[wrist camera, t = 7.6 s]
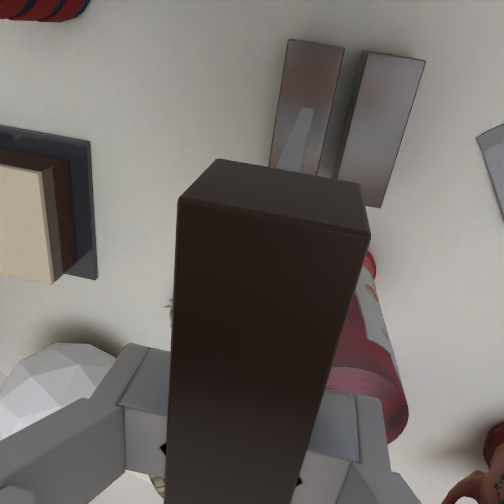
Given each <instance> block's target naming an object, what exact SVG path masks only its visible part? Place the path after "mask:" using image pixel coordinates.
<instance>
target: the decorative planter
mask: <svg viewBox="0 0 504 504" xmlns="http://www.w3.org/2000/svg"><path fill="white" fill-rule="evenodd" d="M483 455H484V459H485V461H486V463H487V465H488V467H489V470H490V471H489V472H487V473H484V472H481V471H479V470H477V471H474V472H473V473H472V474H470V475H469V476H467V477H466V478H464V479H463V480H461V481H460V482H458V483H457V484H456V485H455V486H454V487H453V488H452V489H451V490H450V491H449V493H448V495H447V496H446V498H445V499H444V500H443V502H442V504H455V503H456V502H457V500H458V499H459V498H461V497H463V496H466V497H471V498H473V499H475V500H476V501H477V503H478V504H504V423H501V424H499V425H497V426H495V427H494V428H493V429H492V430H491V431H490V432H489V433H488V435H487V438H486V442H485V445H484V449H483Z"/></svg>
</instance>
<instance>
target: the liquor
mask: <svg viewBox="0 0 504 504" xmlns="http://www.w3.org/2000/svg"><path fill="white" fill-rule="evenodd" d="M375 276H376V265H375V262H374V259H373V257H372V256H371V254H370V253H369V252H368V251H367V253H366V257H365V260H364V263H363V266H362V270H361V273H360V276H359V280H358V283H357V286H356V290H355V293H354V296H353V299H352V303H351V306H350V309H349V313H348V316H347V319H346V323H345V326H344V329H343V332H342V336H341V339H340V342H339V346H338V349H337V352H336V356H335V359H334V362H333V365H332V369H331V372H330V375H329V379H328V382H327V385H326V387H327V388H332V389H336V390H341V391H346V392H350V393H353V394H354V393H355V394H360V395H365V396H370V397H374V398H378V399H379V400H380V402H381V405H382V412H383V419H384V426H385V432H386V439H387V445H388V444H389V443H391V442H392V441H394V440H395V439H396V438H397V437H398V436H399V435H400V434H401V433H402V432H403V430H404V428H405V427H406V425H407V421H408V417H409V413H408V405H407V401H406V398H405V394H404V390H403V387H402V383H401V379H400V375H399V371H398V368H397V364H396V360H395V356H394V352H393V349H392V345H391V342H390V339H389V335H388V332H387V329H386V326H385V322H384V319H383V316H382V312H381V308H380V304H379V300H378V296H377V292H376V288H375V283H374V279H375Z"/></svg>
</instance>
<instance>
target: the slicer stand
mask: <svg viewBox="0 0 504 504" xmlns="http://www.w3.org/2000/svg"><path fill="white" fill-rule="evenodd" d="M344 50H345V49H344V48H343V47H341V46H334V45H328V44H321V43H315V42H309V41H302V40H296V39H289V40H288V44H287V51H286V57H285V63H284V70H283V76H282V82H281V89H280V95H279V101H278V108H277V114H276V120H275V127H274V133H273V139H272V146H271V152H270V158H269V165H268V167H270V168H275V169H276V167H277V165H278V163H279V160H280V158H281V156H282V153H283V151H284V149H285V146H286V144H287V142H288V139H289V137H290V134H291V132H292V130H293V127H294V125H295V123H296V120H297V118H298V116H299V113H300V111H301V109H302V107H305V108H311V109H314V114H313V119H312V125H311V130H310V135H309V140H308V145H307V150H306V155H305V160H304V166H303V171H302V173H303V174H309V175H315V176H317V173H318V168H319V163H320V159H321V154H322V150H323V145H324V141H325V136H326V132H327V127H328V122H329V118H330V113H331V109H332V104H333V100H334V95H335V91H336V86H337V81H338V77H339V72H340V68H341V63H342V59H343V54H344ZM425 63H426V61H425V60H421V59H416V58H411V57H405V56H399V55H392V54H386V53H379V52H373V51H366V50H363V52H362V56H361V60H360V65H359V69H358V73H357V77H356V81H355V86H354V90H353V94H352V98H351V102H350V106H349V111H348V115H347V119H346V123H345V127H344V131H343V136H342V140H341V144H340V148H339V152H338V157H337V161H336V165H335V169H334V173H333V177H332V179H337V180H343V181H348V182H354V183H358V184H360V185H361V190H362V195H363V199H364V204H365V206H371V207H376V208H381V205H382V202H383V199H384V196H385V192H386V189H387V186H388V183H389V179H390V176H391V173H392V170H393V167H394V163H395V160H396V157H397V154H398V150H399V147H400V144H401V141H402V138H403V134H404V131H405V128H406V125H407V121H408V118H409V115H410V112H411V109H412V105H413V102H414V99H415V96H416V92H417V89H418V86H419V83H420V80H421V76H422V73H423V70H424V67H425Z"/></svg>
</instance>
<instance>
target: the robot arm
mask: <svg viewBox="0 0 504 504" xmlns="http://www.w3.org/2000/svg"><path fill="white" fill-rule="evenodd" d="M170 355H171V352H168V351H164V350H160V349H156V348H150V347H146V346H142V345H138V344H134V343H129V344H128V345H126V346H125V347H124V348H123V350H122V351H121V353H120V354H119V356H118V357H117V359H116V360H115V362H114V363H113V364H112V366H111V367H110V369H109V370H108V372H107V373H106V375H105V376H104V378H103V379H102V381H101V382H100V384H99V385H98V387H97V388H96V389H95V391H94V392H93V394H92V395H91V397H90V398H89V399H87V398H83V397H82V398H80V399H78V400H76V401H74V402H73V403H71V404H69V405H67V406H65V407H63V408H61V409H59V410H57V411H56V412H54V413H52V414H50V415H48V416H46V417H44V418H42V419H40V420H39V421H37V422H35V423H33V424H31V425H29V426H27V427H25V428H23V429H22V430H20V431H18V432H16V433H14V434H12V435H10V436H8V437H6V438H5V439H3V440H1V441H0V504H88V503H89V502H90V501H92V500H93V499H94V498H95V497H96V496H97V495H99V494H100V493H101V492H102V491H103V490H105V489H106V488H107V487H108V486H109V485H110V484H112V483H113V482H114V481H115V480H116V479H118V478H119V477H120V476H121V475H122V474H123V473H124V472H125V469H126V470H130V471H135V472H139V473H144V474H148V475H153V476H157V477H162V478H165V464H166V442H167V420H168V399H169V377H170ZM291 504H421V502H420V501H419V500H418V498H417V497H416V495H415V494H414V493H413V491H412V490H411V489H410V487H409V486H408V485H407V483H406V482H405V481H404V479H403V478H402V477H401V475H400V474H399V473H396V472H392V471H391V467H390V460H389V453H388V446H387V439H386V432H385V426H384V419H383V412H382V405H381V402H380V400H379V399H378V398H374V397H370V396H365V395H360V394H355V393H354V394H353V393H350V392H346V391H341V390H336V389H332V388H327V387H326V389H325V392H324V395H323V398H322V402H321V405H320V408H319V412H318V415H317V418H316V422H315V425H314V428H313V431H312V435H311V438H310V441H309V445H308V448H307V451H306V455H305V458H304V461H303V464H302V468H301V471H300V474H299V478H298V481H297V484H296V488H295V491H294V494H293V497H292V501H291Z"/></svg>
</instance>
